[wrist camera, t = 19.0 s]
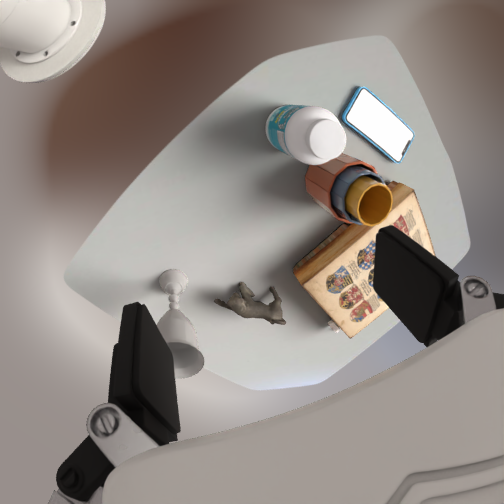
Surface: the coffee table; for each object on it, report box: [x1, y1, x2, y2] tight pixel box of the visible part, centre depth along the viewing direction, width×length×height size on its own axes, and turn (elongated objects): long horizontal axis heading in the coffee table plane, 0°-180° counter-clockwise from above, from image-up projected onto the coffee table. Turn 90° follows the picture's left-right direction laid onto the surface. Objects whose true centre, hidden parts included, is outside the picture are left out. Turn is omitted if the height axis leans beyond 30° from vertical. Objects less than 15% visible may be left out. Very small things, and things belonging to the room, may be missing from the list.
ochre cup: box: [344, 175, 393, 227], centre depth 40 cm, size 6×6×12 cm
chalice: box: [157, 269, 204, 378], centre depth 41 cm, size 7×7×18 cm
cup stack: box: [305, 153, 386, 225], centre depth 42 cm, size 9×9×11 cm
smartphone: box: [342, 87, 415, 163], centre depth 43 cm, size 8×1×15 cm
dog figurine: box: [214, 282, 286, 325], centre depth 50 cm, size 12×6×7 cm, turn 64°
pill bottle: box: [266, 105, 346, 165], centre depth 35 cm, size 8×7×14 cm
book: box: [293, 181, 436, 339], centre depth 55 cm, size 25×6×28 cm
